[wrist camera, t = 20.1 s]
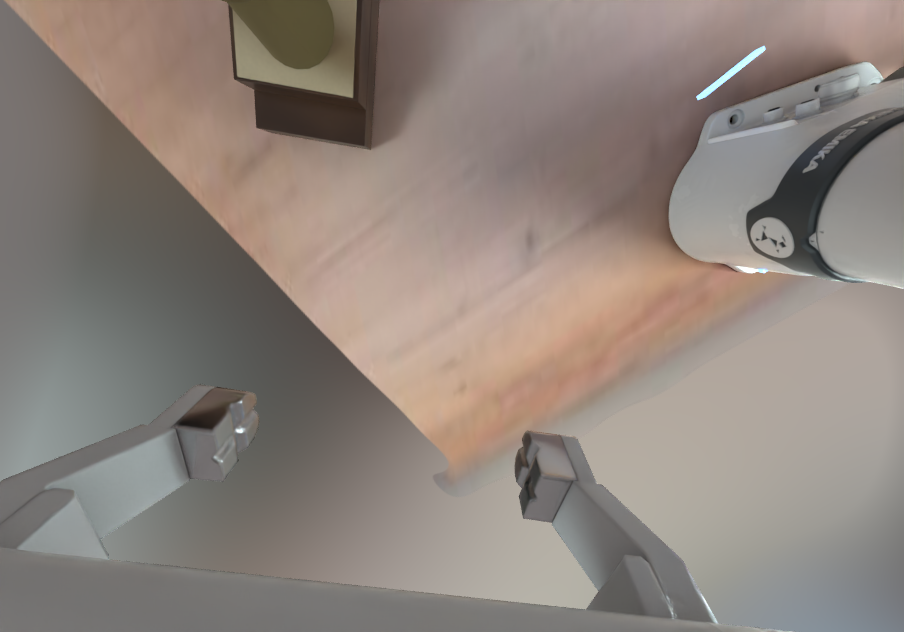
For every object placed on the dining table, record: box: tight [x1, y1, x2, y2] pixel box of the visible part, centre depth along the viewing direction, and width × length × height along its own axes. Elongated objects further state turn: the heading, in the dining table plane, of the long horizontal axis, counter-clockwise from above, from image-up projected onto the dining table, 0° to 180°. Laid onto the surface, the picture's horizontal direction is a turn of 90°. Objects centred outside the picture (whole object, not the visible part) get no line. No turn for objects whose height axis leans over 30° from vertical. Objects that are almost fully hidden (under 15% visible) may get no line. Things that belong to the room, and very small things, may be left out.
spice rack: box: [228, 0, 379, 150], centre depth 26 cm, size 15×10×9 cm, turn 171°
